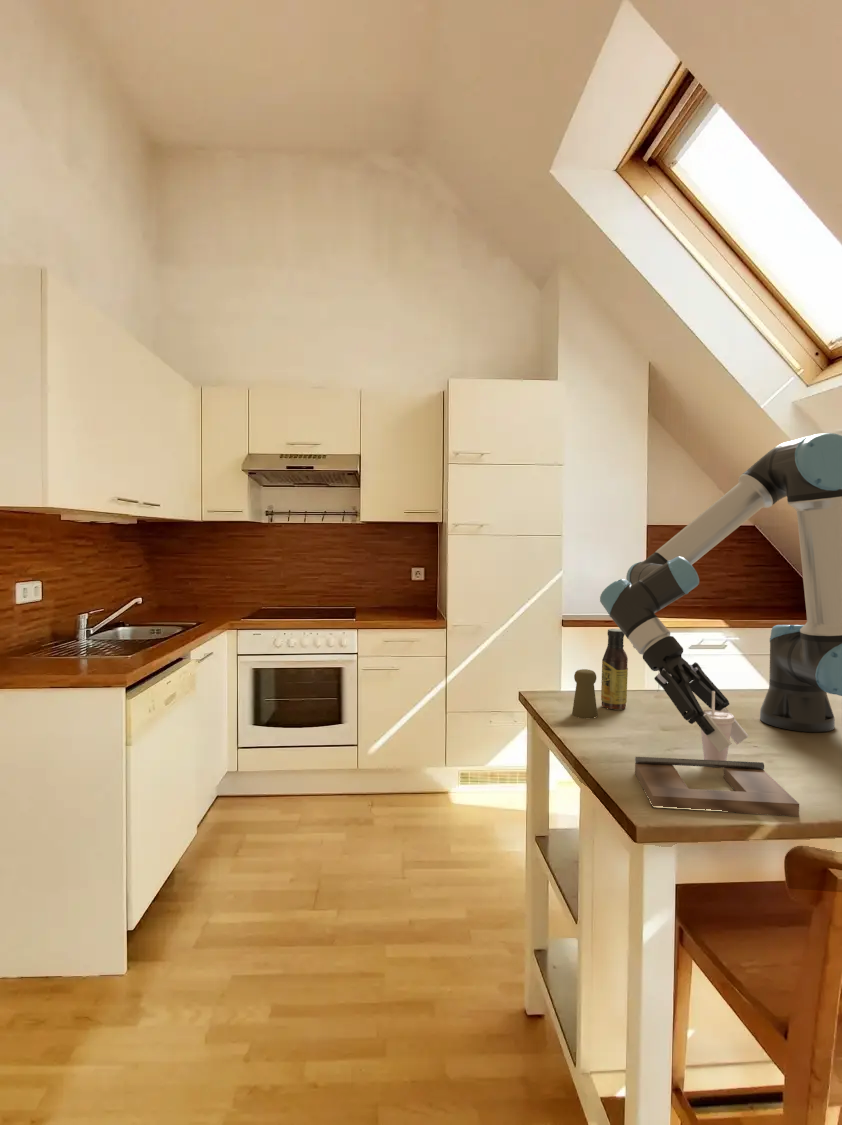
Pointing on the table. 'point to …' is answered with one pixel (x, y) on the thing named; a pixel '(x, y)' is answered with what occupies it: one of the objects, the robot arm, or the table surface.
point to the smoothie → (725, 724)
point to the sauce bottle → (614, 672)
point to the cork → (585, 694)
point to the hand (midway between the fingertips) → (734, 743)
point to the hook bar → (699, 763)
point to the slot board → (718, 791)
